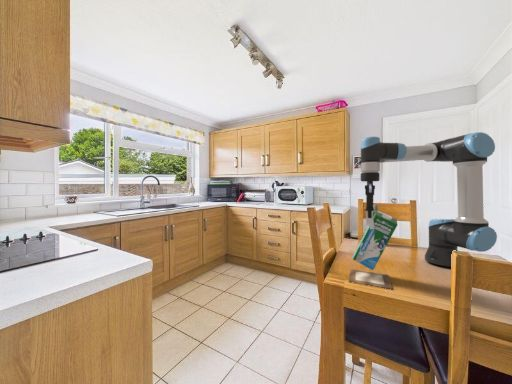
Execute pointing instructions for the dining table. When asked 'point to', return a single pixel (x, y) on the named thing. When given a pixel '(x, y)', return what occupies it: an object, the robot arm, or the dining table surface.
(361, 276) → the rest board
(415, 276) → the dining table surface
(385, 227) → the milk carton
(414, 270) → the dining table surface
